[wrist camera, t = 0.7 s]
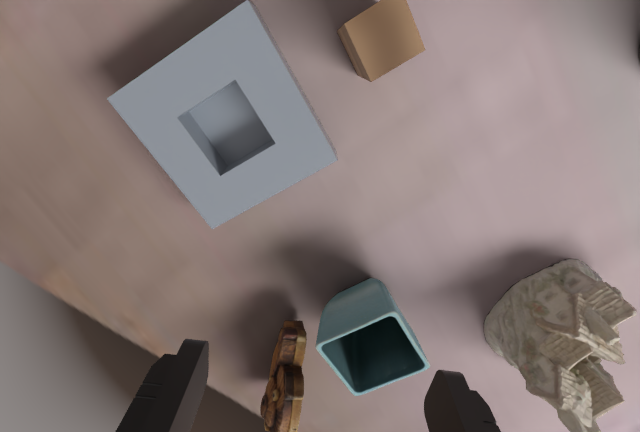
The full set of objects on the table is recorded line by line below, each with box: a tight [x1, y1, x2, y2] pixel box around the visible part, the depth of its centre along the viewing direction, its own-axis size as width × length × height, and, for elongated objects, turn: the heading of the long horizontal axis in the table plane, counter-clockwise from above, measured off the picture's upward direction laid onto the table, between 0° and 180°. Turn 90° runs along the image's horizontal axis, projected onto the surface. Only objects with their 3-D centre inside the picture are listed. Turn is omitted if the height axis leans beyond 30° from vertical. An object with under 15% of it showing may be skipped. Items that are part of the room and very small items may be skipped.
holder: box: [107, 0, 338, 229], centre depth 30 cm, size 14×14×4 cm
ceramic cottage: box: [484, 259, 637, 432], centre depth 37 cm, size 16×16×15 cm
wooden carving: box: [261, 321, 306, 432], centre depth 41 cm, size 16×5×10 cm, turn 173°
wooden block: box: [337, 0, 425, 82], centre depth 26 cm, size 4×4×8 cm
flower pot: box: [316, 278, 430, 396], centre depth 37 cm, size 9×9×9 cm
